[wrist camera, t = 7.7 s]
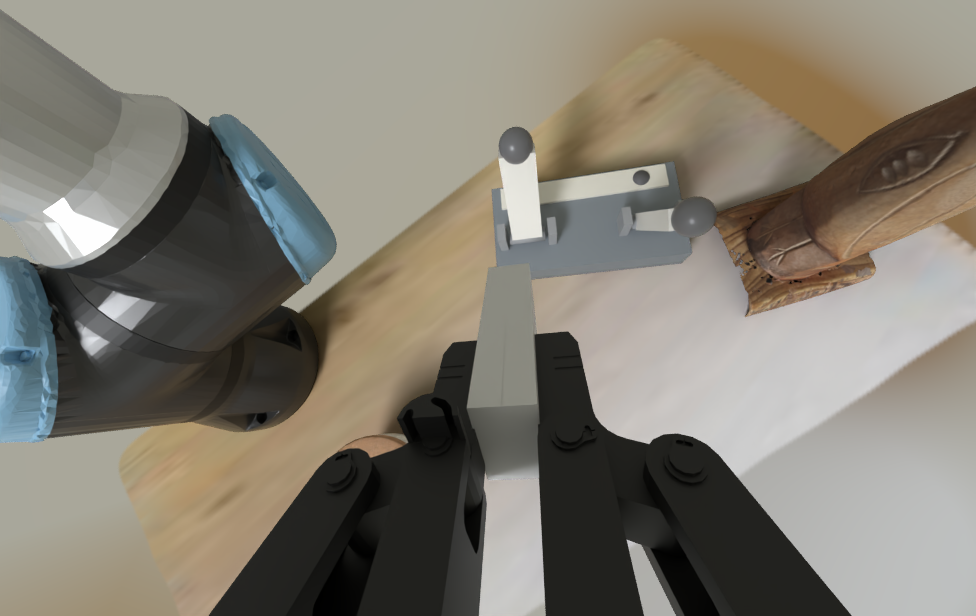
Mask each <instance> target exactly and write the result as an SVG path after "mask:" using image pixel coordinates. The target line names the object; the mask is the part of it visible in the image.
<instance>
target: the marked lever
mask: <svg viewBox="0 0 976 616" xmlns="http://www.w3.org/2000/svg"><path fill="white" fill-rule="evenodd" d="M499 165H500V170H501V176H502V182H503V188H504V194H505V199H506V205H507V211H508V217H509V222H510V228H511V231H509V238H510V244H511V245H513V244H521V243H529V242H537V241H545V240H546V238H545V227H542V226H541V214H540V203H539V191H538V179H537V167H536V156H535V146H534V143H533V140H532V137H531V135H530V134H529V132H528V131H527V130H525V129H523V128H521V127H512V128H509V129H508V130H507V131H505V132H504V133H503V135H502V136H501V138H500V141H499Z"/></svg>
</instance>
